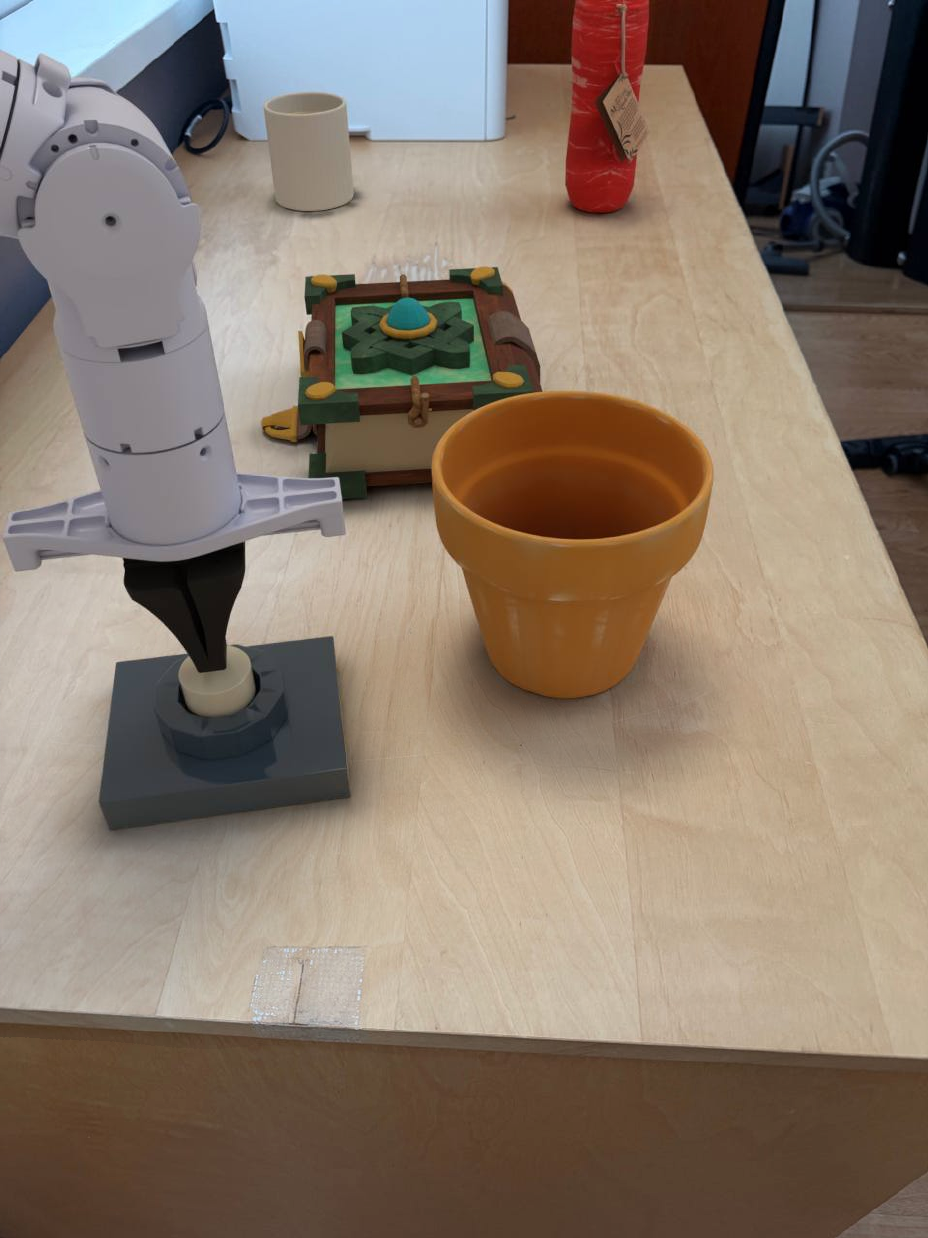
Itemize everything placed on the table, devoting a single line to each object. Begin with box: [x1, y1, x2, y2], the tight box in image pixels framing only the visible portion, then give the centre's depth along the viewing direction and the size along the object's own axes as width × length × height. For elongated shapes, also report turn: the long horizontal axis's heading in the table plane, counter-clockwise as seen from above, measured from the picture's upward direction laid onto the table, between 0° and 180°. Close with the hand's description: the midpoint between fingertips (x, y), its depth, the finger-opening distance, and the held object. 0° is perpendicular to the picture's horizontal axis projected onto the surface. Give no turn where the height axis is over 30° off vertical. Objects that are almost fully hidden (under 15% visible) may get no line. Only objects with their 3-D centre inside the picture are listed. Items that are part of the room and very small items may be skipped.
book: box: [260, 266, 544, 500], centre depth 79 cm, size 27×21×10 cm
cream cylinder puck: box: [179, 644, 256, 718], centre depth 53 cm, size 4×4×2 cm
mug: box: [263, 91, 355, 212], centre depth 115 cm, size 11×10×10 cm
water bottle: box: [564, 0, 651, 214], centre depth 106 cm, size 12×8×25 cm, turn 7°
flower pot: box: [431, 390, 715, 699], centre depth 57 cm, size 14×14×13 cm
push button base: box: [98, 635, 352, 831], centre depth 54 cm, size 12×10×4 cm
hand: (212, 658), depth 52 cm, fingers closed
